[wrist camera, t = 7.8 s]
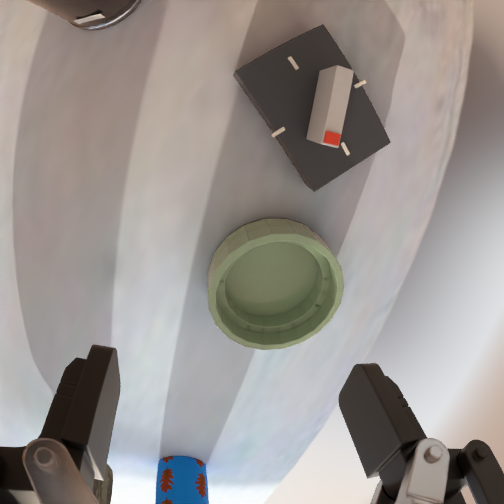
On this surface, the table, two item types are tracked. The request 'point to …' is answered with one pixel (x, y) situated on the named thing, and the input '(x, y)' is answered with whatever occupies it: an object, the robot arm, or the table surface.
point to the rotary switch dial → (310, 106)
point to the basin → (273, 284)
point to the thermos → (181, 481)
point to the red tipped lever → (330, 105)
